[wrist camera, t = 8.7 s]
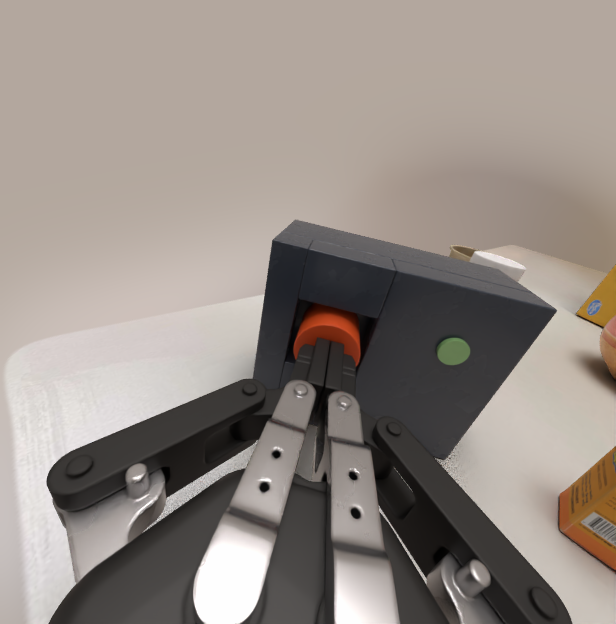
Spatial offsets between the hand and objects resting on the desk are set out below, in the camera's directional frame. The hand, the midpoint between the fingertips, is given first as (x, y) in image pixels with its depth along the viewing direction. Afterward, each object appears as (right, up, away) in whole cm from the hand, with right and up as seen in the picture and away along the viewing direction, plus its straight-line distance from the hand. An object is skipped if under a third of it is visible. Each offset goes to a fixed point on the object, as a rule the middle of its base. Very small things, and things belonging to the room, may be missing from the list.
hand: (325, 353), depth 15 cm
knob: (0, -1, +2) cm, 2 cm away
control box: (+2, -5, +7) cm, 9 cm away
